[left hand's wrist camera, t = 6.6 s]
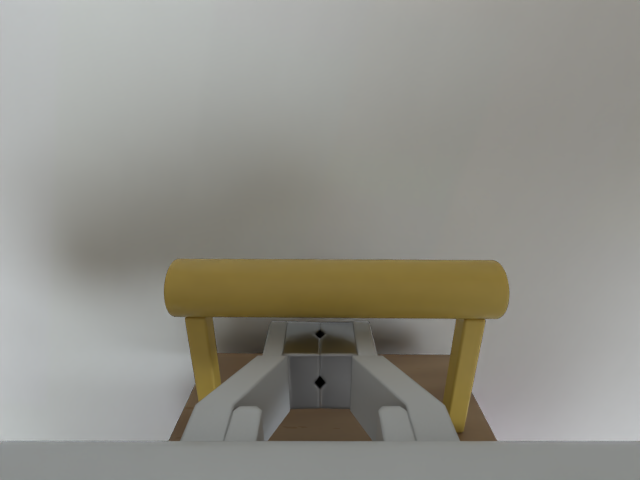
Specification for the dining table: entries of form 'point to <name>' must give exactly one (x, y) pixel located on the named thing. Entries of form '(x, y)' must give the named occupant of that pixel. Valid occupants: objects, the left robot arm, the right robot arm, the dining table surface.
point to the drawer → (342, 302)
